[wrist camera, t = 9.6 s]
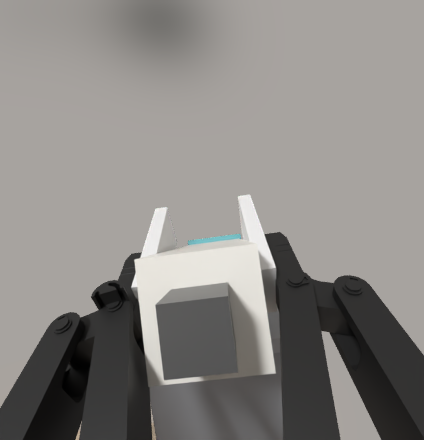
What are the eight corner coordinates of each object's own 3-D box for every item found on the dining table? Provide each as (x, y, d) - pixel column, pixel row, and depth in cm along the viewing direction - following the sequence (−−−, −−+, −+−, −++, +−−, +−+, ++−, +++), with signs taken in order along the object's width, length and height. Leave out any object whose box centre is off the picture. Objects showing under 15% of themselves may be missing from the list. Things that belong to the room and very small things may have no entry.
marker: (118, 432, 7) (99, 252, 7) (201, 281, 29) (195, 239, 29) (298, 414, 7) (271, 229, 7) (243, 276, 28) (237, 234, 29)
